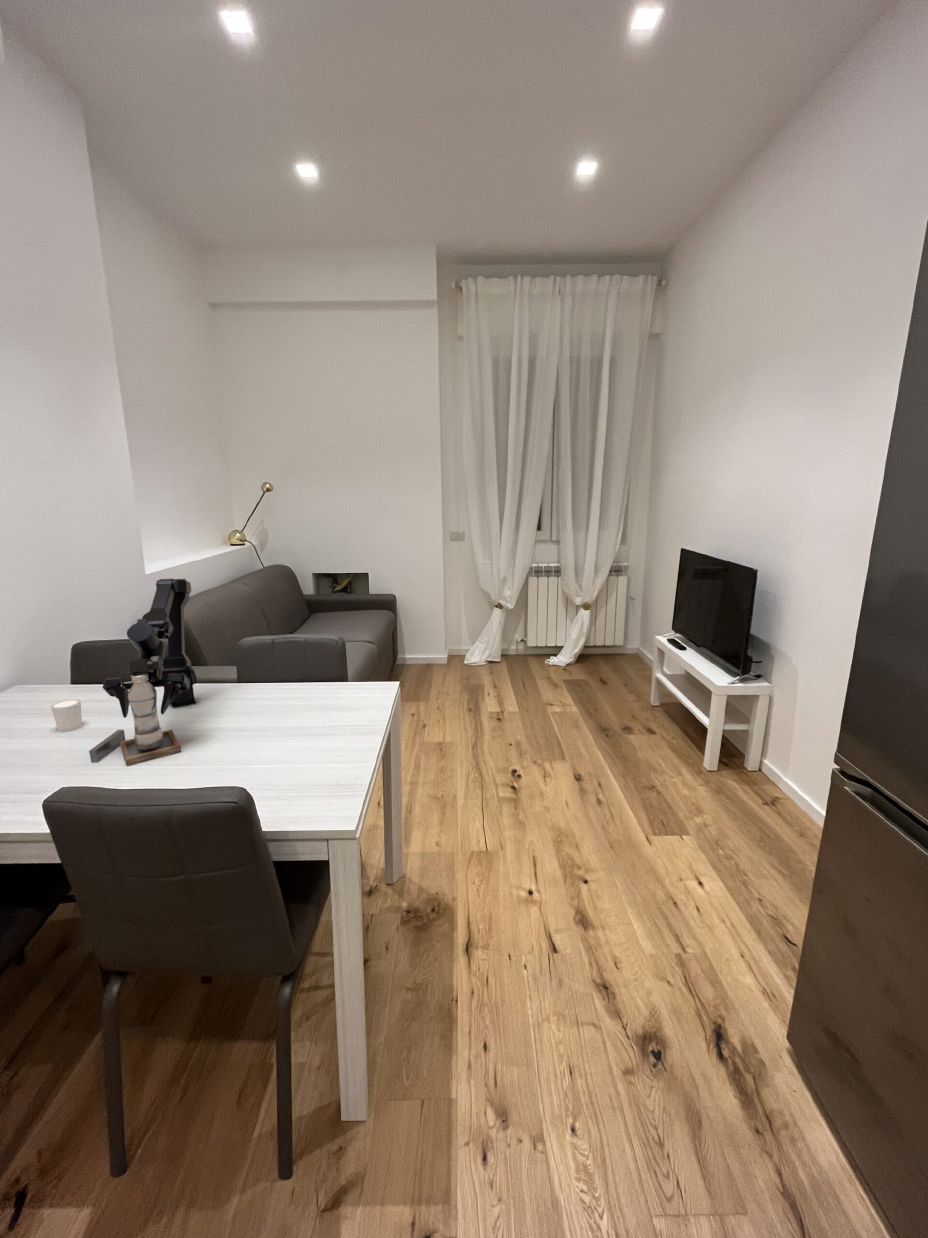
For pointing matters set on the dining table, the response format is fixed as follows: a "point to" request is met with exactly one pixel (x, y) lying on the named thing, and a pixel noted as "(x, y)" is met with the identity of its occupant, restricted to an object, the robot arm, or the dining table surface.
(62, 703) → the white tapered cup
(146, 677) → the plastic bottle
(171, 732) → the wooden tray
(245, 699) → the dining table surface
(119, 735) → the bar
